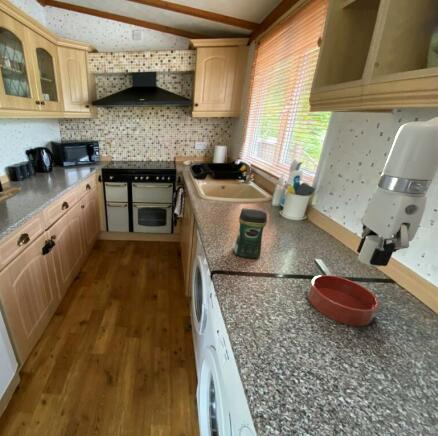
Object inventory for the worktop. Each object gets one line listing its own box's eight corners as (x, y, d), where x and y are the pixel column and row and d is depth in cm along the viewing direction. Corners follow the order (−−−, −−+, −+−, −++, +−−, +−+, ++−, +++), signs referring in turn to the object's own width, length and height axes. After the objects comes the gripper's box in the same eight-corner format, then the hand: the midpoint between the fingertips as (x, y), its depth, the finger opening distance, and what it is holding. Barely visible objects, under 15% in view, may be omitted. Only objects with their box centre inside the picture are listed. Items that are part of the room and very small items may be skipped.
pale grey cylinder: (374, 257, 60) (383, 236, 58) (386, 267, 56) (396, 245, 54) (354, 255, 61) (362, 234, 58) (364, 265, 57) (373, 242, 54)
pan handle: (319, 262, 85) (320, 259, 84) (333, 279, 76) (334, 276, 75) (313, 261, 85) (314, 258, 85) (325, 278, 76) (327, 275, 76)
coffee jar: (258, 250, 99) (267, 207, 91) (260, 260, 92) (270, 215, 84) (233, 246, 101) (240, 205, 94) (233, 256, 94) (241, 212, 87)
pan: (354, 292, 75) (359, 278, 73) (386, 330, 62) (393, 315, 60) (300, 284, 79) (304, 271, 77) (319, 319, 65) (324, 305, 63)
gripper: (462, 198, 43) (416, 282, 50) (395, 176, 58) (367, 243, 65) (411, 195, 44) (374, 277, 51) (359, 175, 59) (336, 240, 66)
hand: (371, 258), depth 58 cm, fingers closed on pale grey cylinder, 4 cm apart
